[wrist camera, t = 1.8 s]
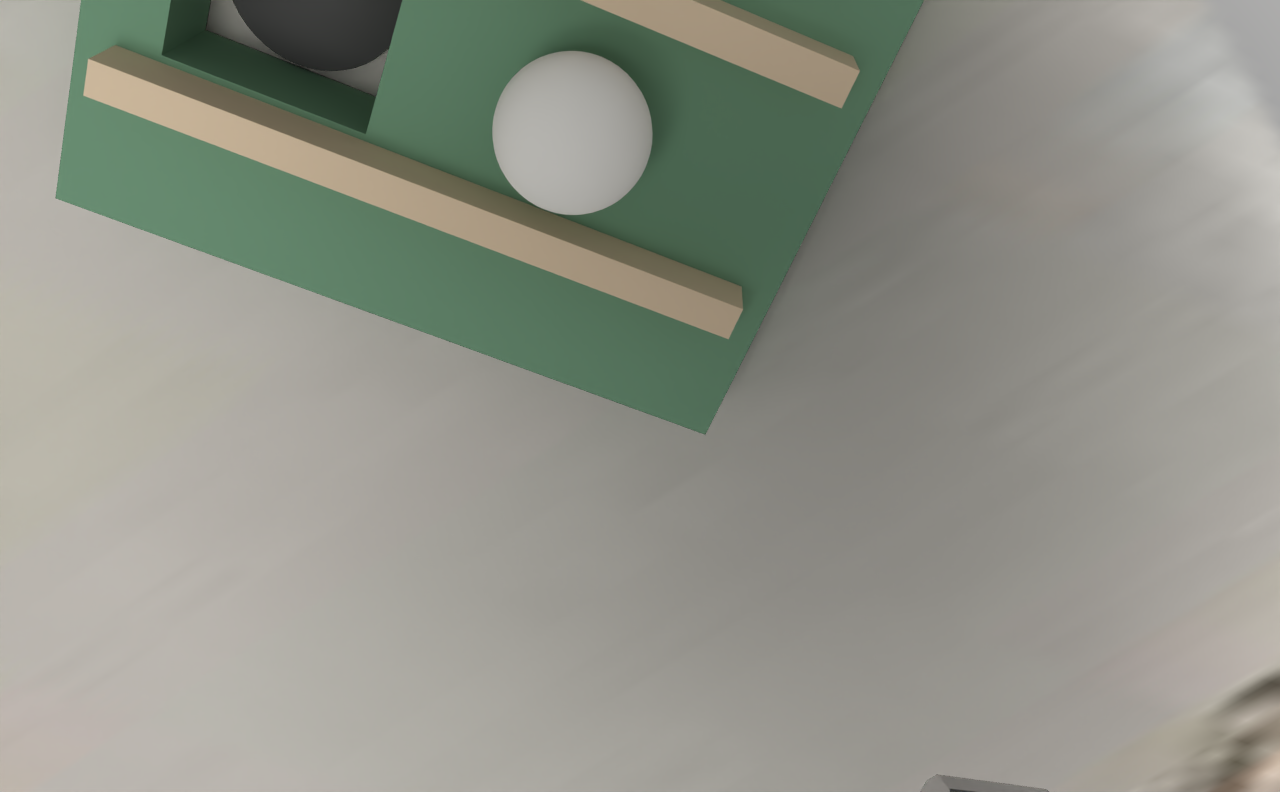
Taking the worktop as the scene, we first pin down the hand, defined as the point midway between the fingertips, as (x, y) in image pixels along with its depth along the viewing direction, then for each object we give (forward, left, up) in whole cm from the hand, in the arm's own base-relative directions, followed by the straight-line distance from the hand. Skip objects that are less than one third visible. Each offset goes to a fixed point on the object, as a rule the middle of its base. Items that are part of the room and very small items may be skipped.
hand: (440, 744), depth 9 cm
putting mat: (+4, +2, -26) cm, 26 cm away
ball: (+1, +2, -21) cm, 21 cm away
